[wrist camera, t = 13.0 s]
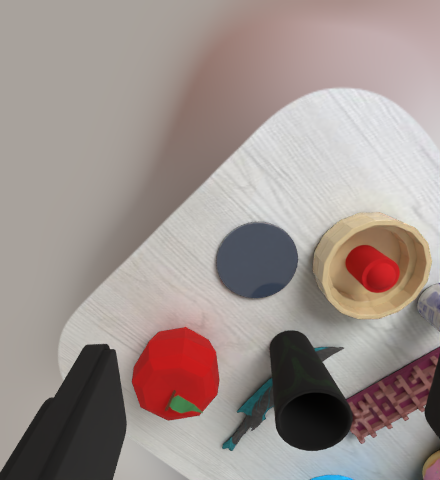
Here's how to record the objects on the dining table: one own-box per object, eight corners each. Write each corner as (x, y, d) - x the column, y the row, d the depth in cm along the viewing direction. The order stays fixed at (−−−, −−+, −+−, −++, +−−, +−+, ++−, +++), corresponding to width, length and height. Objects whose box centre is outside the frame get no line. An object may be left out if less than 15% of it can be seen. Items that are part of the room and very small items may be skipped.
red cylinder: (347, 245, 37) (370, 263, 32) (381, 244, 37) (410, 262, 32) (343, 276, 38) (364, 298, 33) (376, 275, 39) (402, 298, 33)
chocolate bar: (472, 373, 44) (483, 383, 42) (357, 434, 48) (363, 446, 46) (452, 339, 42) (463, 349, 40) (334, 406, 46) (339, 417, 44)
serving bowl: (316, 211, 36) (329, 220, 32) (418, 210, 36) (442, 219, 33) (307, 303, 40) (317, 320, 36) (399, 301, 40) (418, 318, 37)
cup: (252, 358, 43) (261, 434, 31) (279, 314, 41) (300, 378, 29) (300, 379, 43) (326, 461, 32) (328, 337, 41) (368, 408, 30)
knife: (207, 436, 47) (232, 450, 48) (207, 442, 46) (232, 457, 47) (318, 327, 41) (344, 346, 43) (321, 332, 40) (347, 351, 42)
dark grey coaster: (216, 222, 36) (216, 223, 36) (300, 221, 36) (301, 222, 36) (216, 297, 39) (216, 299, 39) (293, 295, 40) (294, 297, 39)
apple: (136, 374, 43) (115, 441, 34) (147, 309, 40) (127, 363, 30) (210, 385, 44) (210, 454, 34) (226, 323, 41) (231, 379, 31)
